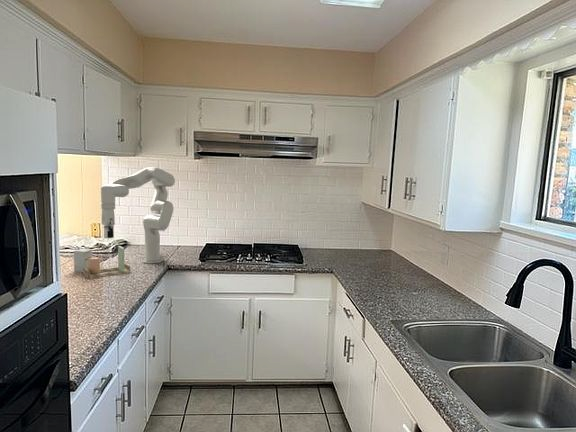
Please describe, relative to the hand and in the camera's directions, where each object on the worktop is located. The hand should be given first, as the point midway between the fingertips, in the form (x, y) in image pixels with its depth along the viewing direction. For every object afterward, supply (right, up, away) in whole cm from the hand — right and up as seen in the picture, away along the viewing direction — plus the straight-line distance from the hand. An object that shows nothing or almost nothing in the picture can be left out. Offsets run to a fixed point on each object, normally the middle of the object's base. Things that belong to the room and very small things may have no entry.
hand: (108, 236), depth 242 cm
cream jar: (0, -1, 0) cm, 1 cm away
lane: (-2, -22, +2) cm, 22 cm away
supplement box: (-18, -21, +6) cm, 29 cm away
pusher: (+5, -21, +8) cm, 23 cm away
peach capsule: (-8, -23, -3) cm, 24 cm away
